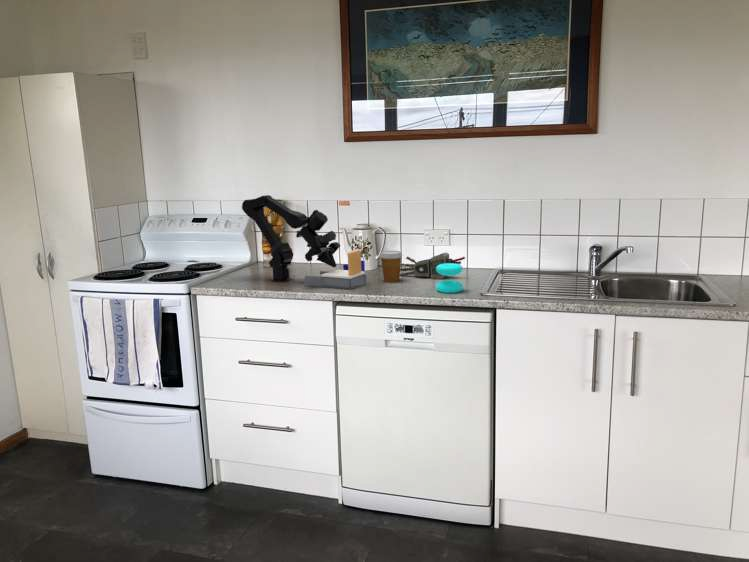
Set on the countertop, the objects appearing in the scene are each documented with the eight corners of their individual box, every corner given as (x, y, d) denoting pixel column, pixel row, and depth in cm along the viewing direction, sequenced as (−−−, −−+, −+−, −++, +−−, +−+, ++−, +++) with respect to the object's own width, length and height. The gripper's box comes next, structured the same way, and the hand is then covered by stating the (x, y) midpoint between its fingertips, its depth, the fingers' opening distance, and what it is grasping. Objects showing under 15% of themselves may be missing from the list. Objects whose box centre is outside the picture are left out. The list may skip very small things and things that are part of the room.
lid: (320, 276, 238) (319, 252, 236) (336, 271, 249) (335, 248, 247) (350, 278, 232) (349, 254, 230) (365, 273, 242) (364, 249, 240)
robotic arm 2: (393, 258, 253) (461, 253, 241) (399, 255, 260) (466, 250, 248) (396, 282, 254) (464, 278, 243) (402, 279, 261) (468, 274, 250)
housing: (305, 285, 243) (304, 275, 242) (321, 280, 253) (321, 270, 252) (351, 289, 232) (350, 279, 232) (366, 283, 243) (365, 274, 242)
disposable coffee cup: (397, 277, 254) (397, 249, 251) (406, 281, 245) (406, 252, 242) (377, 279, 250) (376, 251, 248) (385, 283, 242) (384, 254, 239)
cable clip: (356, 273, 268) (356, 260, 266) (364, 274, 265) (364, 260, 264) (340, 278, 258) (340, 264, 257) (349, 278, 255) (348, 265, 254)
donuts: (451, 268, 216) (430, 265, 224) (451, 294, 218) (430, 291, 226) (468, 264, 223) (447, 261, 230) (468, 290, 225) (447, 286, 232)
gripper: (310, 227, 232) (334, 257, 229) (335, 222, 248) (359, 250, 245) (294, 246, 238) (318, 275, 235) (320, 240, 254) (343, 267, 251)
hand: (335, 266), depth 241 cm, fingers closed
